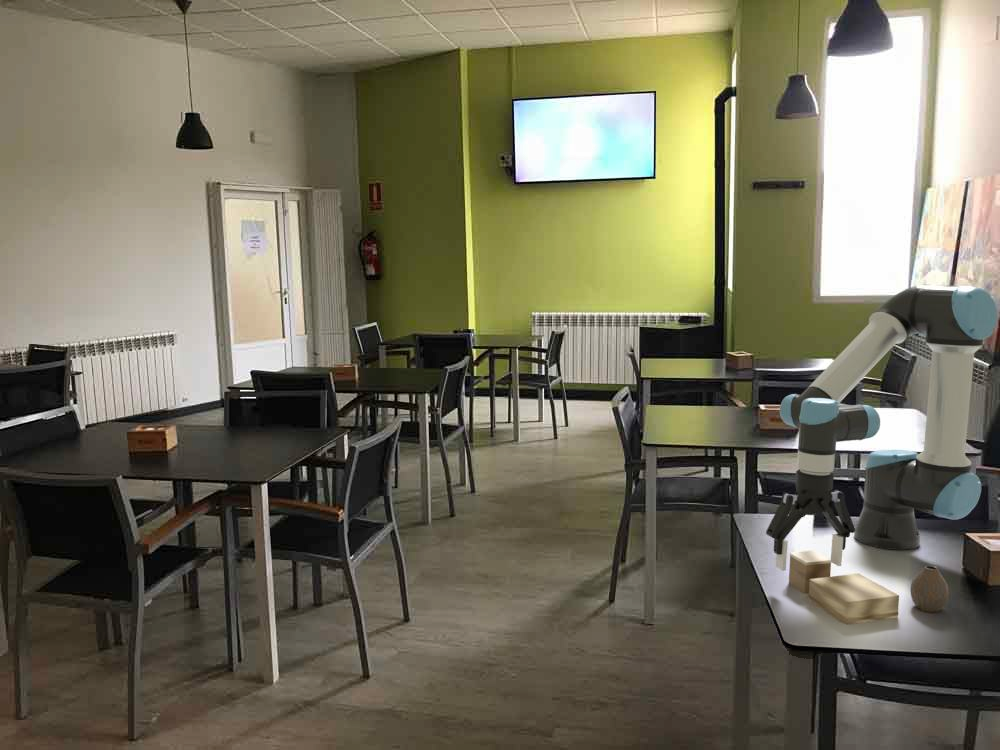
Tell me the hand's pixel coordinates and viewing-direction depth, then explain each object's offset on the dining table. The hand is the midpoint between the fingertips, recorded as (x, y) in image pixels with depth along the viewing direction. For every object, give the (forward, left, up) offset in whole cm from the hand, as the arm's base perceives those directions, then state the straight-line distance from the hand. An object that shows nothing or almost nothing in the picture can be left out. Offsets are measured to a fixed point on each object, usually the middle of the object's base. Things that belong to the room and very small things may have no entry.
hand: (808, 566), depth 181 cm
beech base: (-2, +12, -5) cm, 13 cm away
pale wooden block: (0, 0, -5) cm, 5 cm away
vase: (-18, +15, -5) cm, 24 cm away
